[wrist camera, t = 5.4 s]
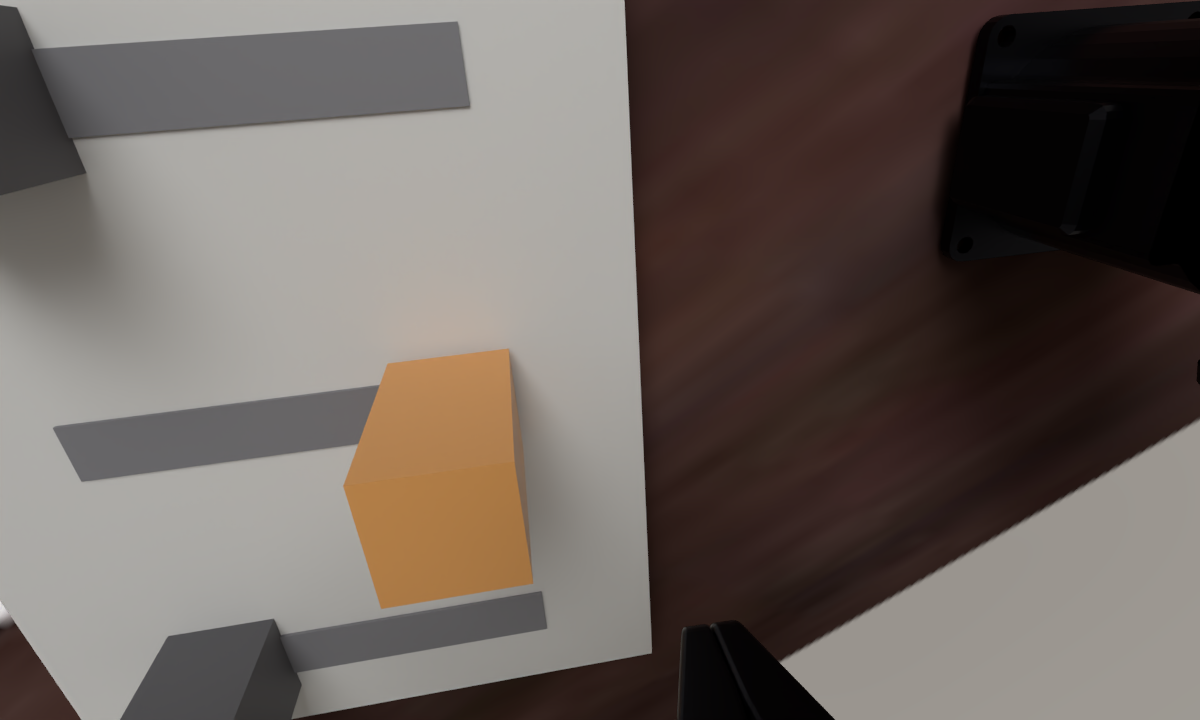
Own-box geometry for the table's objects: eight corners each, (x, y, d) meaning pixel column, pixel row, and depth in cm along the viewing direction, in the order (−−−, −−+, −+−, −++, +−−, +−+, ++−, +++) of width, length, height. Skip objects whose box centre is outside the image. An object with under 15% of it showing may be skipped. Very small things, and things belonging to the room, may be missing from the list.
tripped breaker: (508, 348, 16) (514, 461, 11) (522, 446, 17) (533, 583, 12) (387, 363, 15) (343, 485, 11) (411, 463, 17) (380, 609, 12)
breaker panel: (603, -94, 14) (693, -228, 8) (640, 608, 23) (693, 804, 17) (-317, -52, 12) (-1221, -186, 6) (136, 696, 21) (-10, 954, 15)
